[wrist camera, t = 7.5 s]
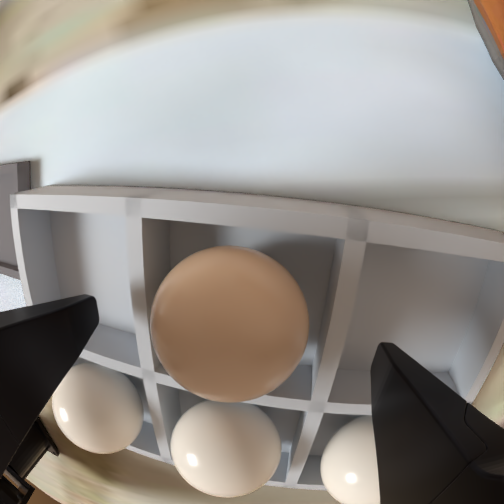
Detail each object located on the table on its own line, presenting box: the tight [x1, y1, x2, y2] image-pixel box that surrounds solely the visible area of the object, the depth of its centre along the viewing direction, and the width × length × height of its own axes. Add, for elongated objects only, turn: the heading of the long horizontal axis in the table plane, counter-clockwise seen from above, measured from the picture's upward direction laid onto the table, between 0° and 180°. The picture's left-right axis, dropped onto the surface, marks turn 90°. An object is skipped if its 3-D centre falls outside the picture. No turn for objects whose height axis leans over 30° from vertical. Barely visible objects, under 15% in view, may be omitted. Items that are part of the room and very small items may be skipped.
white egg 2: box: [171, 400, 282, 497], centre depth 11 cm, size 5×5×5 cm
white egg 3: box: [320, 415, 380, 504], centre depth 10 cm, size 5×5×5 cm
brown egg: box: [150, 245, 309, 403], centre depth 9 cm, size 5×5×5 cm
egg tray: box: [9, 185, 504, 490], centre depth 12 cm, size 14×20×3 cm
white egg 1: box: [52, 362, 144, 454], centre depth 12 cm, size 5×5×5 cm
